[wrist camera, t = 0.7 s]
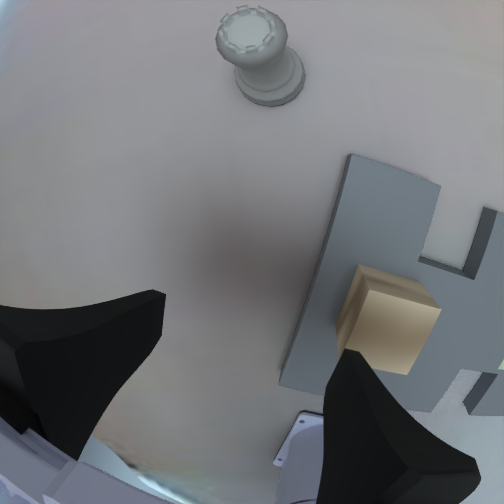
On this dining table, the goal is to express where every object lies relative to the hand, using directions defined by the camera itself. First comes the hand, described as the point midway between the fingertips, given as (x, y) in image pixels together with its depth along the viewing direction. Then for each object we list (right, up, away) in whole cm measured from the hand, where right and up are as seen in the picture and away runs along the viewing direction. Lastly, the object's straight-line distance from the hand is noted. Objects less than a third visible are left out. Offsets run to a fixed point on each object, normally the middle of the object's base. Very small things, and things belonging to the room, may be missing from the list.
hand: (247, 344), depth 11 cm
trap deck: (+17, -2, +8) cm, 19 cm away
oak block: (+8, 0, +7) cm, 11 cm away
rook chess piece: (+1, +15, +7) cm, 16 cm away
